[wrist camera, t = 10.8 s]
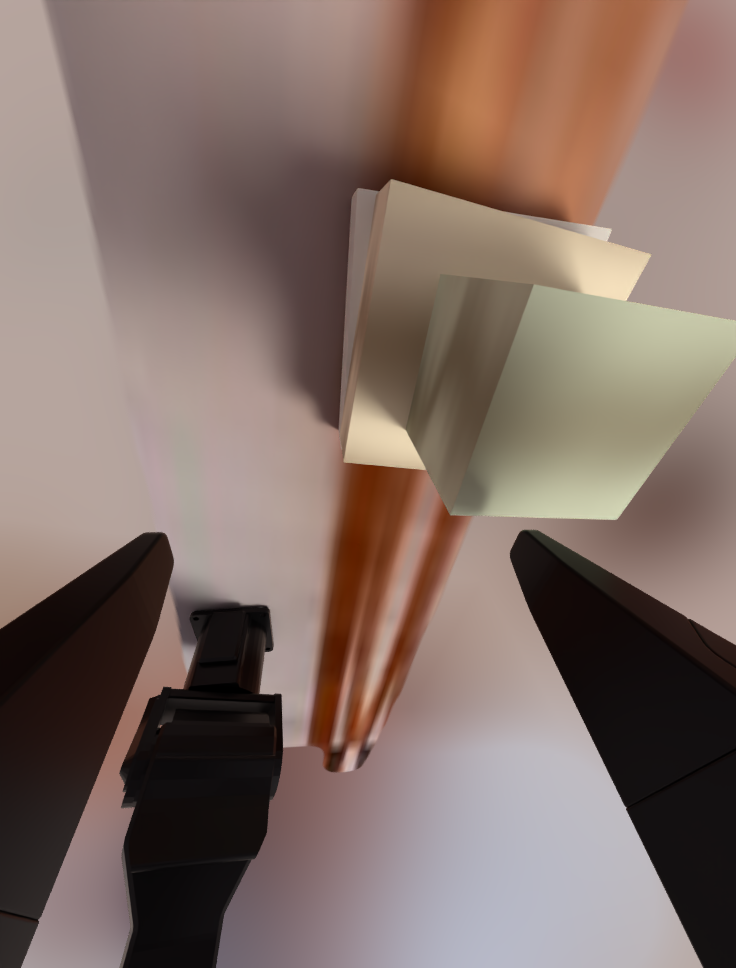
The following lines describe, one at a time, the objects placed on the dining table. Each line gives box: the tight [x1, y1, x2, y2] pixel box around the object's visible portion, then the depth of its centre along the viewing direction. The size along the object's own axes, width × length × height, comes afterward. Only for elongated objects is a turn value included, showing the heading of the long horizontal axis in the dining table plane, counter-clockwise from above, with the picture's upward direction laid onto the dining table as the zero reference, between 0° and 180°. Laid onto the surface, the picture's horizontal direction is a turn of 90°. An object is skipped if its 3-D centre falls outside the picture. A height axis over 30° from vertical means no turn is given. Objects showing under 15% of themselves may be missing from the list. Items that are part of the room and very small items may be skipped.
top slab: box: [340, 179, 651, 470], centre depth 15 cm, size 10×10×3 cm
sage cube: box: [406, 274, 736, 520], centre depth 11 cm, size 6×6×6 cm
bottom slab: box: [339, 188, 612, 449], centre depth 17 cm, size 11×11×3 cm
